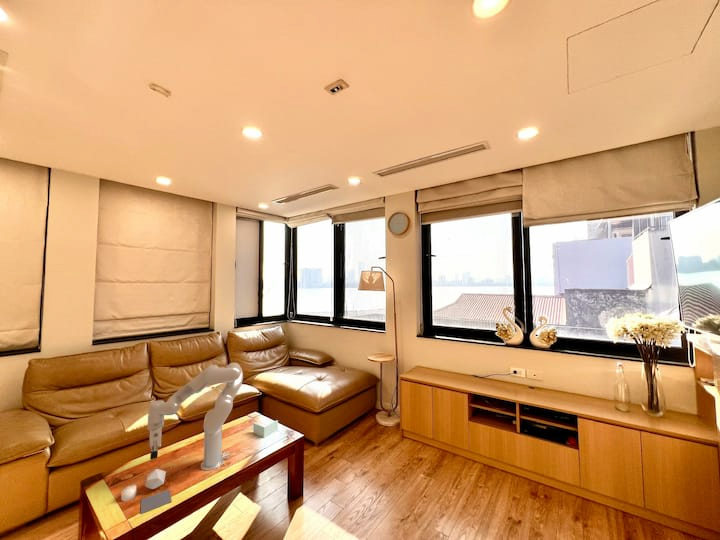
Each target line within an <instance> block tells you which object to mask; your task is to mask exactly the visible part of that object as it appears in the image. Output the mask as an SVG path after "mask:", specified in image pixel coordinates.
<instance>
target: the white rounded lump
mask: <svg viewBox="0 0 720 540" xmlns="http://www.w3.org/2000/svg"><path fill="white" fill-rule="evenodd" d="M120 496H121V497H120V501H122V502H128V501H131V500H132V499H134V498H135V497H136V496H137V485H136V484H131V485H127V486H126V487H124V488H123V489H121V491H120Z"/></svg>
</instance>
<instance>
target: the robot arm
mask: <svg viewBox="0 0 720 540" xmlns="http://www.w3.org/2000/svg"><path fill="white" fill-rule="evenodd" d="M243 372H244V371H243V369H242V367H241V365H240V364H239V363H238V362H229V364H228V365H227V366H226V367H223V368H221V367H219V366H218V365H217V364H210V365H209V366H206V368H204V369H203V370H202V371H201V372H199V374H197V375H196V376H195V377H194V378H192V379H191V380H190V381H189V382H188V383H187V382H186V384H185V385H183V386H182V387H181V388H180V389H178V390H177V391H175V392H174V393H173V394H172V395H171V396H170V397H168V399H167V401H166V402H165V401H164V400H163V399H161V400H154V401H152V402H150V403H149V405H148V411H147V412H148V415H147V428H146V430H148V431H149V448H150V449H151V451H150V455H149V456H150V460H155V459H158V455H159V453H158V451H159V450H158V449H159V448H158V447H161V446H162V429H163V427H164V426H165V416H174V415H175V414H177V413H178V412H179V411H180V408H181V405H182V404H183V403H184V402H185V401H187V399H189V398H190V397H192V396H193V395H194V394H198V393H200V392H202V391H203V390H204V389H205V388H206V387H208V386H209V385H210V384H223V383H225V385H224V387H223V388H222V389H221V392H220V393H219V395H218V396H217V398H216V400H215V405H214V407H213V408H211V409H210V410H208V411H207V413H206V414H205V416H204V421H203V430H204V432H203V433H204V434H203V461H202V462H201V463H200V469H201V470H202V471H214V470H216V469H218V468H220V467H221V466H222V465H223V464H224V463H225V458H228V457H230V456H231V452H228V451H225V452H223V450H222V449H223V448H222V447H223V444H222V443H223V442H222V441H223V438H222V437H223V425H224V423H225V421H226V420H227V418H228V417H229V415H230V414H231V412H232V410H233V408H234V407H233V406H234V405H233V403H234V402H233V401H234V399H235V397H236V396H237V394H238V392H239V391H240V388H241V387H242V384H243V380H244V373H243Z"/></svg>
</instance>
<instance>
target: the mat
mask: <svg viewBox="0 0 720 540" xmlns="http://www.w3.org/2000/svg"><path fill="white" fill-rule="evenodd" d="M171 503H172V494H171V489H170V488H168V489H166V490H163V491H161V492H157V493H154V494H152V495H150V496H147V497H145V498H141V499H140V515H143V514H146V513H147V512H151V511H152V510H155V509H157V508H160V507H162V506H165V505H168V504H171Z"/></svg>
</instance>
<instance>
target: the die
mask: <svg viewBox="0 0 720 540" xmlns="http://www.w3.org/2000/svg"><path fill="white" fill-rule="evenodd" d="M166 473H167V471H165V470H163V469H159V468H155V469H154V470H152V471H150V472H149V473H148V474H147V477H146V480H145V485H144V487H146V488H148V489H150V490H155V489H158V488H159V487H161V486H162V485H164V483H165V479H166Z"/></svg>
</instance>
